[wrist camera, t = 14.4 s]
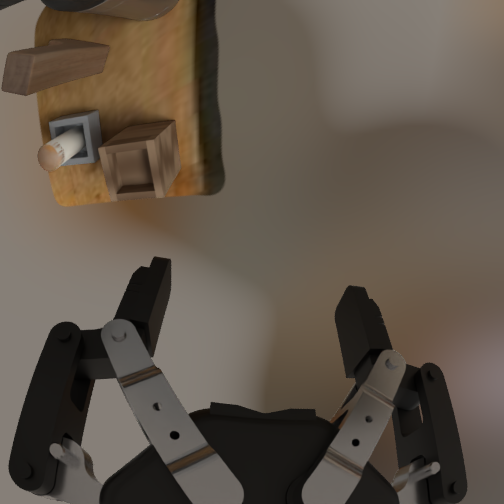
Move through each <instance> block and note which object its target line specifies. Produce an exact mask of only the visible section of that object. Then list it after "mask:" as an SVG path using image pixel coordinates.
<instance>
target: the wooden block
mask: <svg viewBox="0 0 504 504" xmlns="http://www.w3.org/2000/svg"><path fill="white" fill-rule="evenodd" d="M109 49H110V47H109V46H108V45H103V44H97V43H92V42H86V41H79V40H72V39H55V40H51V41H50V42H49V44H48V46H42V47H35V48H29V49H23V50H19V51H13V52H10V53H8V55H7V59H6V64H5V70H4V75H3V82H2V91H4V92H9V93H15V94H20V95H24V96H27V95H30V94H33V93H35V92H38V91H41V90H44V89H47V88H50V87H53V86H56V85H59V84H62V83H66V82H69V81H73V80H76V79H80V78H84V77H87V76H91V75H95V74H99V73H102V71H103V68H104V65H105V62H106V58H107V55H108V52H109Z"/></svg>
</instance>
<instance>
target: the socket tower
mask: <svg viewBox="0 0 504 504" xmlns="http://www.w3.org/2000/svg"><path fill="white" fill-rule="evenodd" d="M98 150H99V155H100V159H101V163H102V168H103V172H104V176H105V180H106V184H107V188H108V191H109V195H110V199H111V202H112V201H123V200H135V199H149V198H163V197H164V196H165V195H166V193H167V191H168V189H169V188H170V186H171V184H172V182H173V181H174V179H175V177H176V176H177V174H178V172H179V171H180V169H181V162H180V155H179V148H178V140H177V132H176V124H175V120H173V121H164V122H157V123H149V124H142V125H136V126H130V127H127V128H125V129H124V130H122V131H121V132H119V133H118V134H117V135H115V136H114V137H112V138H111V139H110V140H108V141H107V142H106V143H104V144H103V145H102V146H100V147H99V148H98Z"/></svg>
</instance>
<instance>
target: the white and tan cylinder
mask: <svg viewBox="0 0 504 504" xmlns="http://www.w3.org/2000/svg"><path fill="white" fill-rule="evenodd" d="M85 147H86V141H85V135H84V128H83V126H75V127H73V128H71V129H70V130H68V131H66V132H64V133H63V134H61V135H59V136H58V137H56V138H54V139H53V140H51V141H50V142H48V143H46V144H45V145H43V146H42V147H41V148H40V149H39V151H38V161H39V164H40V166H41V167H42V168H43V169H44V170H46V171H49V172H51V171H54V170H56V169H57V168H58V167H59V166H61V165H62V164H63V163H65V162H66V161H67V160H68V159H70V158H71V157H72V156H74V155H75V154H77V153H78V152H79V151H81V150H82V149H83V148H85Z"/></svg>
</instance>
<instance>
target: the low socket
mask: <svg viewBox="0 0 504 504" xmlns="http://www.w3.org/2000/svg"><path fill="white" fill-rule="evenodd" d="M75 126H83V128H84V135H85V141H86V147H85V148H83V149H82V150H81V151H79V152H78V153H77V154H75V155H74V156H72V157H71V158H70V159H68V160H67V161H66V162H65V163H63V164H62V165H61V166H65V165H75V164H85V163H95V162H96V161H97V160H98V159H100V155H99V150H98V148H99V147H100V146H102V145H103V143H102V136H101V128H100V120H99V111H98V110H94V111H88V112H82V113H77V114H71V115H66V116H61V117H59V118H57V119H55V120H53V121H51V122H49V127H50V133H51V139H52V140H53V139H54V138H56V137H58V136H59V135H61V134H63V133H64V132H66V131H68V130H70V129H71V128H73V127H75Z"/></svg>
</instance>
